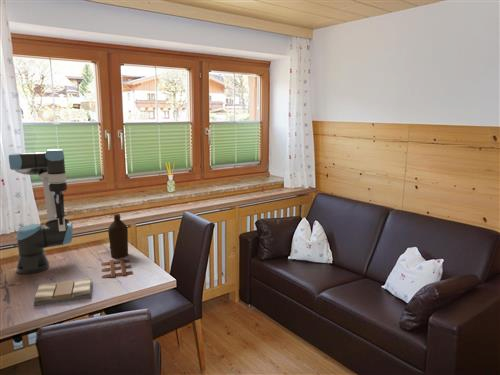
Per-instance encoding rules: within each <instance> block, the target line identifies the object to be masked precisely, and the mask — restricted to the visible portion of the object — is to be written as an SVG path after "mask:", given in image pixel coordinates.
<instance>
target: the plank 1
mask: <svg viewBox="0 0 500 375" xmlns="http://www.w3.org/2000/svg"><path fill="white" fill-rule="evenodd" d="M57 284H58V282H51V283H40V284H39V286H38V288H37V290H36V293H35V296H34V299H33V300H34V301H35V302H37V301H47V300H53V297H54V293H55V290H56V287H57Z"/></svg>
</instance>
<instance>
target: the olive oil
mask: <svg viewBox="0 0 500 375" xmlns="http://www.w3.org/2000/svg"><path fill="white" fill-rule="evenodd" d="M107 232H108V239H109V240H108V241H109V249H110V256H111V257H112V258H114V259H123V258H126V257H127V256H128V255H129V240H128V239H129V238H128V236H129V235H128V234H129V229H128V226H127V224H126V223H124V222H123V221H122V220H121V213H119V212H117V213H114V214H113V222H111V224H110V225H109V226H108V231H107Z"/></svg>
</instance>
